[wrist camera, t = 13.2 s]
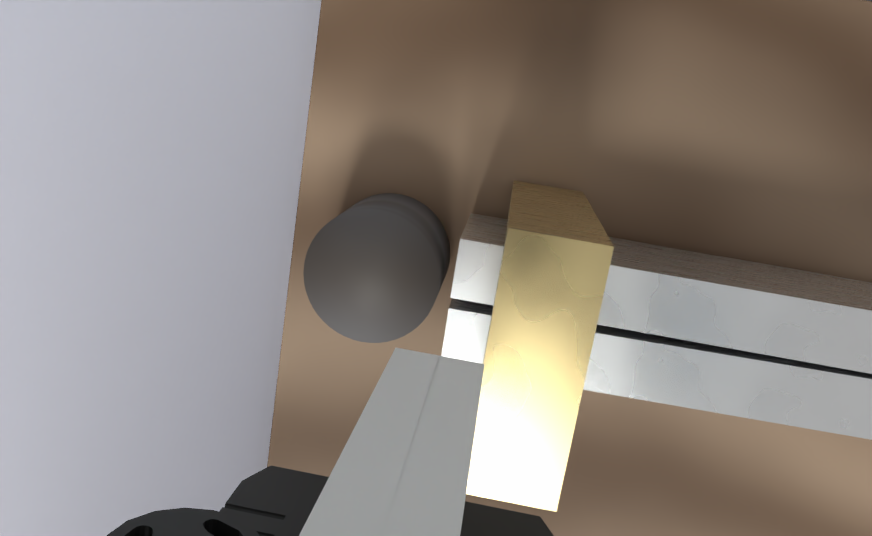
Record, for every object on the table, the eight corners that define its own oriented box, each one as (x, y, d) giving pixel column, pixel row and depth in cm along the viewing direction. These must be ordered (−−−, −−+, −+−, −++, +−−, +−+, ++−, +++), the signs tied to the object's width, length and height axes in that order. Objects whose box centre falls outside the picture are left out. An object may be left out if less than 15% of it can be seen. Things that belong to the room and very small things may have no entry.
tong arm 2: (462, 262, 23) (450, 297, 19) (471, 213, 23) (460, 238, 19) (1090, 374, 22) (1212, 435, 18) (1109, 323, 22) (1238, 375, 18)
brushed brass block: (546, 373, 24) (556, 511, 16) (480, 361, 24) (459, 492, 16) (583, 191, 22) (614, 246, 15) (513, 179, 23) (508, 228, 15)
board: (1058, 643, 25) (1161, 750, 21) (272, 484, 27) (228, 554, 23) (1290, 70, 21) (1476, 66, 17) (339, -73, 23) (298, -108, 19)
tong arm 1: (453, 319, 24) (440, 364, 20) (461, 271, 23) (448, 308, 19) (1072, 423, 22) (1187, 494, 18) (1090, 374, 22) (1212, 436, 18)
